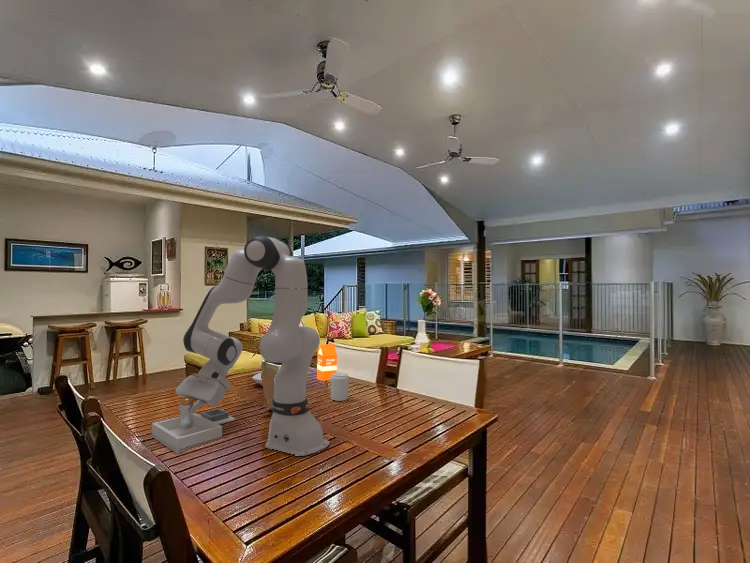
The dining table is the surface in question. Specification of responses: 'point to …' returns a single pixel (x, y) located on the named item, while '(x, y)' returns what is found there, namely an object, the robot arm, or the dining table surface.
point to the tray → (186, 433)
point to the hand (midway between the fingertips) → (185, 410)
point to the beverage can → (339, 386)
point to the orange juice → (326, 362)
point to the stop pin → (186, 413)
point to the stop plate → (217, 416)
